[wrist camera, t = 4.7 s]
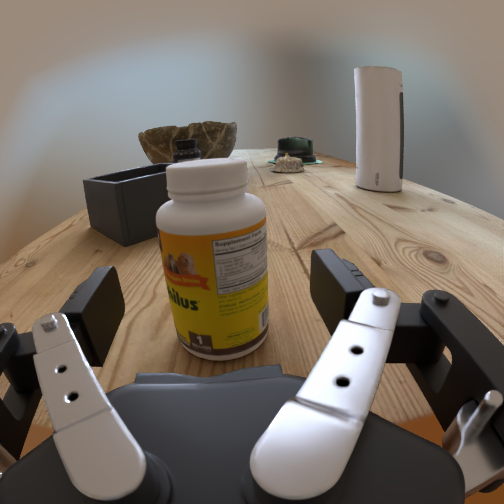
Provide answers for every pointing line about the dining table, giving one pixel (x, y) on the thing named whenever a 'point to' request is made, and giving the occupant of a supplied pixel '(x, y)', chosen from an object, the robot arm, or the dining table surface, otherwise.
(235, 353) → the supplement bottle
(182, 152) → the pill bottle
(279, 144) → the fedora hat
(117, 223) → the open storage box
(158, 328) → the dining table surface
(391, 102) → the speaker
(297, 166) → the cake
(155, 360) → the dining table surface
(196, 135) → the bowl
